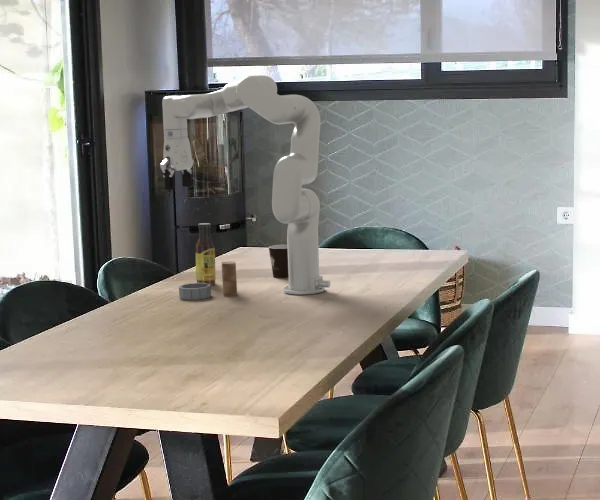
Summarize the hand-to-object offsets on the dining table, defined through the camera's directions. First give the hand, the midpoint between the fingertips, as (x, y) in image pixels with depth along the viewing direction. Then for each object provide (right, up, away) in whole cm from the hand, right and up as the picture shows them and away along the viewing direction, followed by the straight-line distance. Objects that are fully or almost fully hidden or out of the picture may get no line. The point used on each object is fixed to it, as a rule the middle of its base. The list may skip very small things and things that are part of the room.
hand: (178, 187), depth 361 cm
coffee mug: (+34, -29, +12) cm, 46 cm away
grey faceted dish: (+7, -34, -19) cm, 40 cm away
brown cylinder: (+18, -34, -18) cm, 42 cm away
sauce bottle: (+9, -31, +1) cm, 33 cm away
